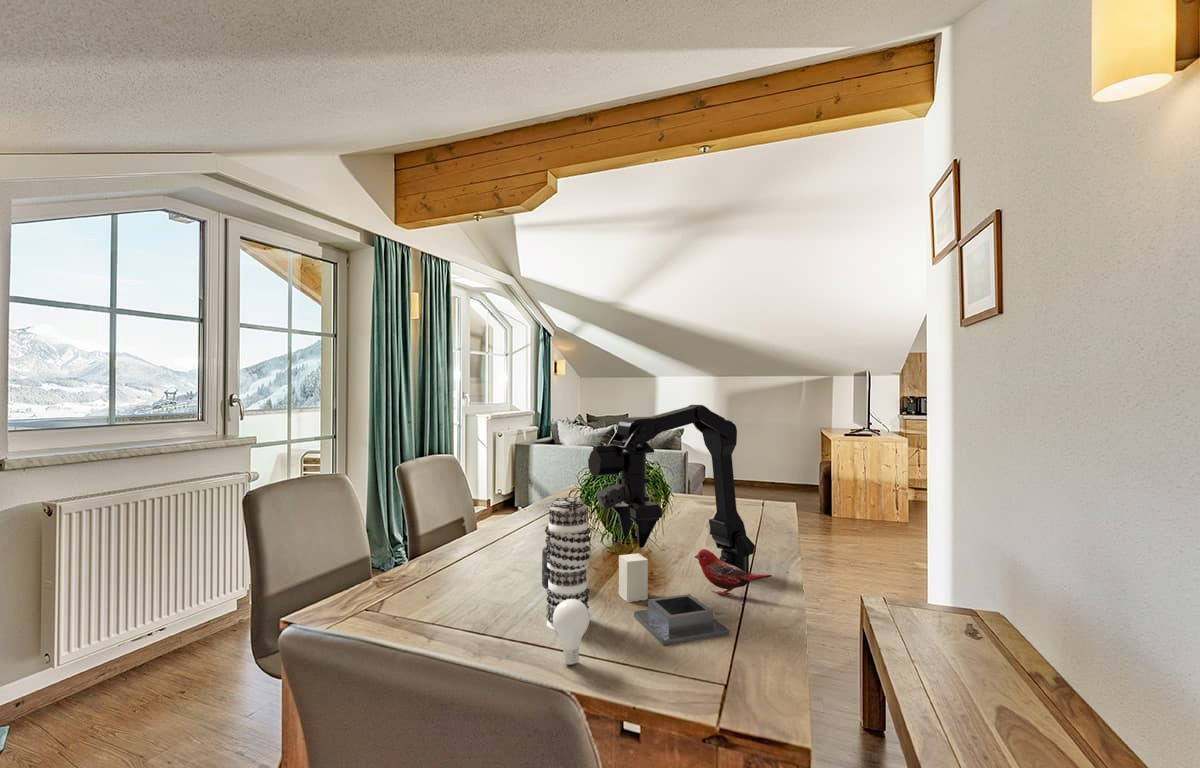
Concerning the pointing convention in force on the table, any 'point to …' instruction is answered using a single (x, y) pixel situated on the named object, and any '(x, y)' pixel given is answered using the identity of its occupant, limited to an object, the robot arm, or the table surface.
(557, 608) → the lightbulb
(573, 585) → the decorative candle
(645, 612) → the square socket
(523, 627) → the table surface
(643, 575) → the square peg
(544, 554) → the pill bottle
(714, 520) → the robot arm
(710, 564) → the decorative bird figurine
